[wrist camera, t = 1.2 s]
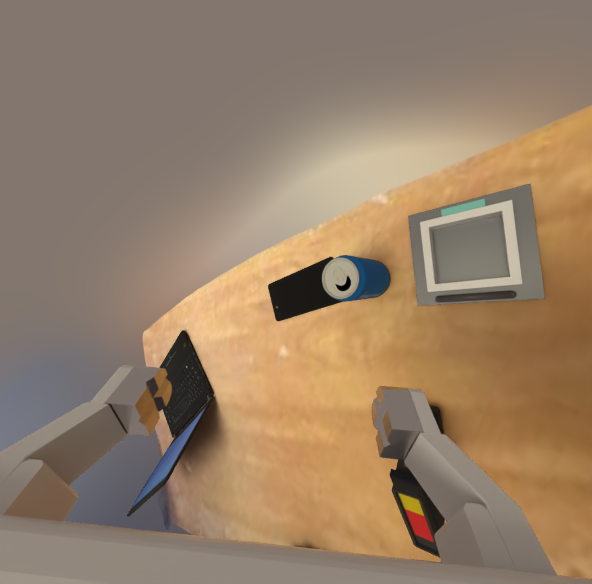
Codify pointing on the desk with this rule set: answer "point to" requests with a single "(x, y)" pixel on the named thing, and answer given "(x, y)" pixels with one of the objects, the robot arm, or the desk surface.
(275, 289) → the cell phone
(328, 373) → the desk surface
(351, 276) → the beverage can
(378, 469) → the desk surface
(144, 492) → the laptop
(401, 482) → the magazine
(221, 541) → the robot arm
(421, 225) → the charging dock
